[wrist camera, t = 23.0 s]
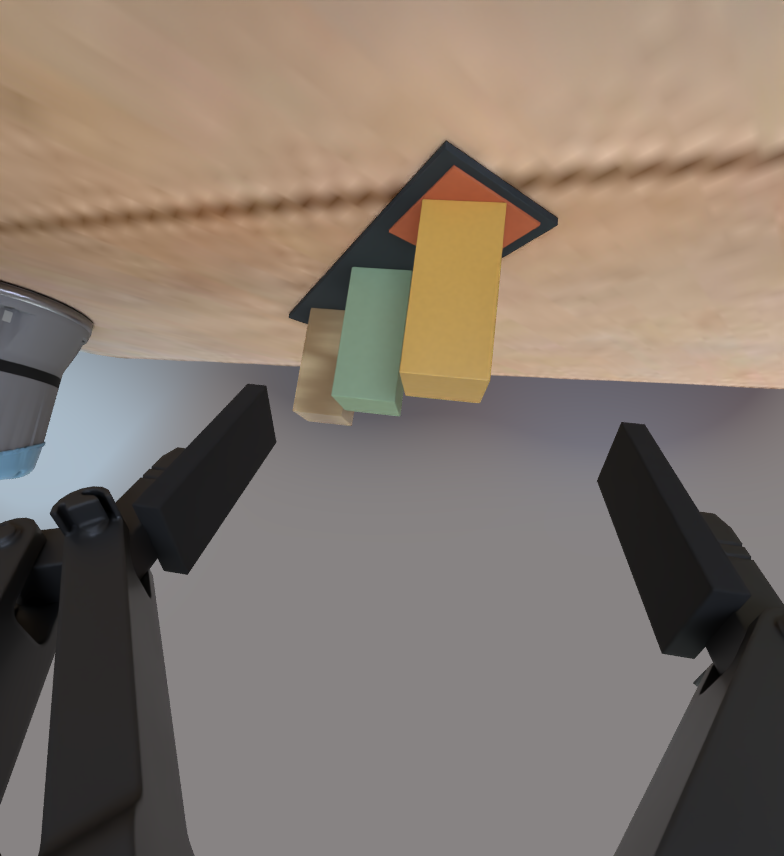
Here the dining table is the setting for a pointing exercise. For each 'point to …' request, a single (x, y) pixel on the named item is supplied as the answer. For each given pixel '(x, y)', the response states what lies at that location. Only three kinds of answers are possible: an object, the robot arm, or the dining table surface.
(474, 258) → the tall mustard brick
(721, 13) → the dining table surface
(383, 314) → the sage I block
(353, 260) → the word mat
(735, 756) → the robot arm
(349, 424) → the tan tall block
